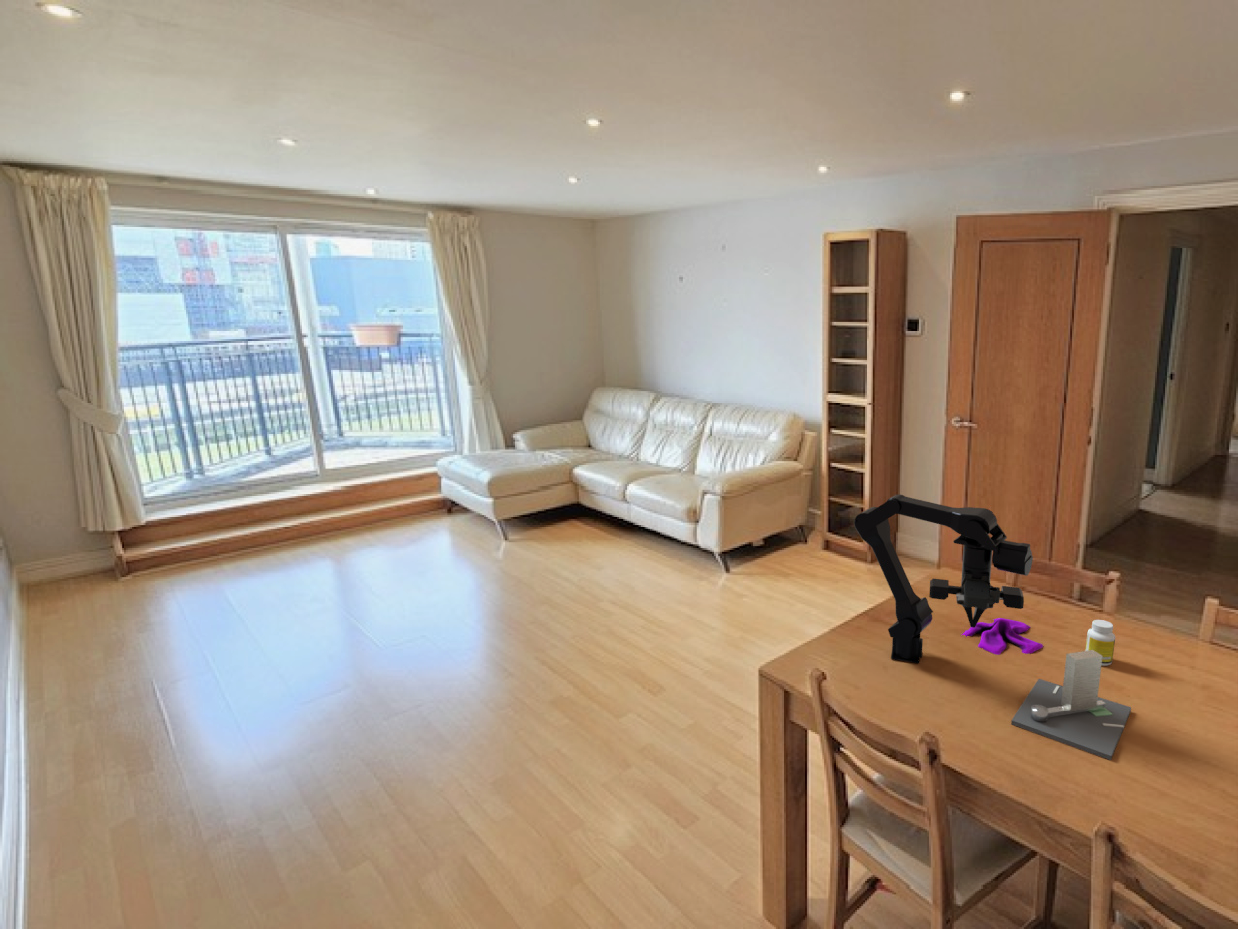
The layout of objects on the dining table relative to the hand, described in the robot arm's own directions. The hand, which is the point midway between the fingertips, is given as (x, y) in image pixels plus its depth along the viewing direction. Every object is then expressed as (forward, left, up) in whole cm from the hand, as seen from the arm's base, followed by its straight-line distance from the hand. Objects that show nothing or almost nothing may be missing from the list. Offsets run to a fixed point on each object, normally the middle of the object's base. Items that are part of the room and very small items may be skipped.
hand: (972, 626), depth 151 cm
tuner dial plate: (+19, -10, -13) cm, 25 cm away
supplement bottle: (+28, +17, -13) cm, 35 cm away
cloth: (+7, +22, -14) cm, 27 cm away
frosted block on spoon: (+18, -10, -12) cm, 24 cm away
